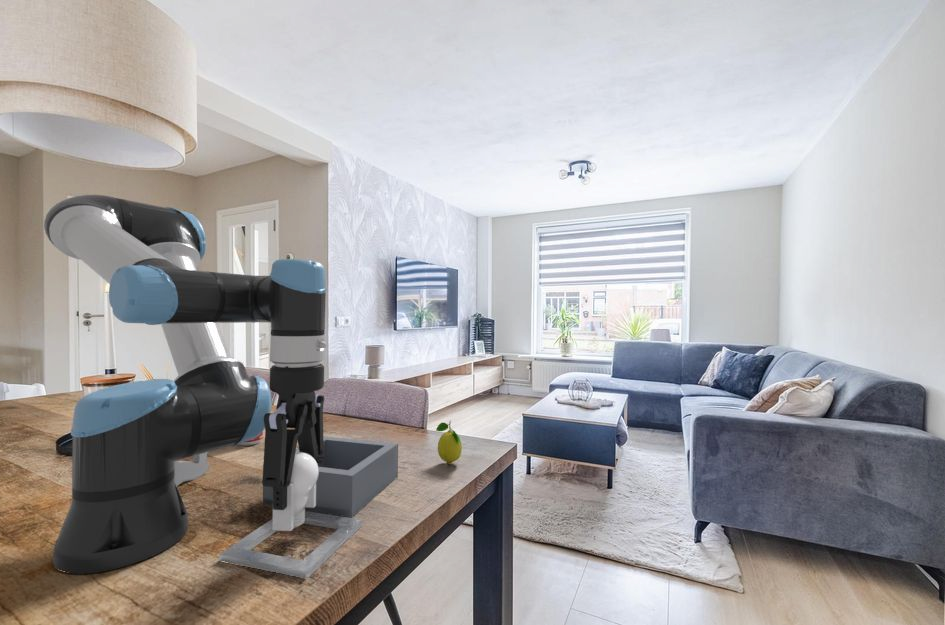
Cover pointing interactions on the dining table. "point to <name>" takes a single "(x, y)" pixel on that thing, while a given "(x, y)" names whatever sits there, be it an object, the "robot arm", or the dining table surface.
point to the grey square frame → (285, 565)
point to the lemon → (449, 444)
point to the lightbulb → (303, 483)
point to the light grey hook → (191, 468)
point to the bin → (350, 475)
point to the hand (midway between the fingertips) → (295, 516)
